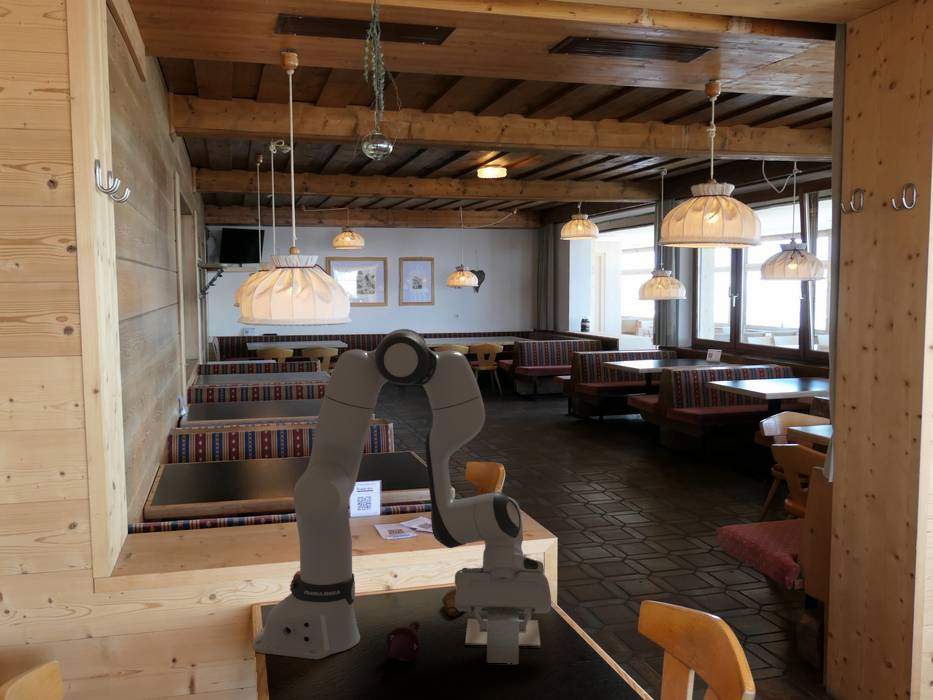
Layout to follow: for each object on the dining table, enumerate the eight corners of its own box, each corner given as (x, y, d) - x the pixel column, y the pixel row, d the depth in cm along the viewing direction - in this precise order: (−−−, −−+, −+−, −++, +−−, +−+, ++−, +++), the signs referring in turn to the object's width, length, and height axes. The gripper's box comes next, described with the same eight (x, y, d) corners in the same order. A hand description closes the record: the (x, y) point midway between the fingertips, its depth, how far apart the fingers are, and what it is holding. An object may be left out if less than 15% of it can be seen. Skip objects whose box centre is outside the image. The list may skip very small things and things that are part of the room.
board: (465, 645, 169) (465, 643, 169) (467, 621, 182) (467, 618, 182) (540, 647, 169) (540, 644, 169) (537, 622, 182) (537, 620, 182)
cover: (486, 663, 161) (487, 620, 160) (487, 650, 167) (487, 608, 167) (518, 664, 161) (518, 621, 160) (517, 650, 167) (518, 608, 166)
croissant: (466, 620, 183) (466, 599, 183) (437, 619, 184) (437, 598, 184) (473, 599, 197) (473, 579, 196) (446, 598, 198) (446, 578, 197)
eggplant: (412, 646, 154) (435, 623, 169) (378, 632, 156) (404, 611, 171) (402, 680, 155) (427, 654, 169) (368, 666, 157) (395, 641, 171)
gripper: (454, 561, 170) (451, 624, 161) (550, 562, 169) (552, 626, 160) (455, 574, 175) (452, 636, 166) (549, 576, 174) (551, 638, 165)
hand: (502, 631), depth 163 cm, fingers open, 7 cm apart
